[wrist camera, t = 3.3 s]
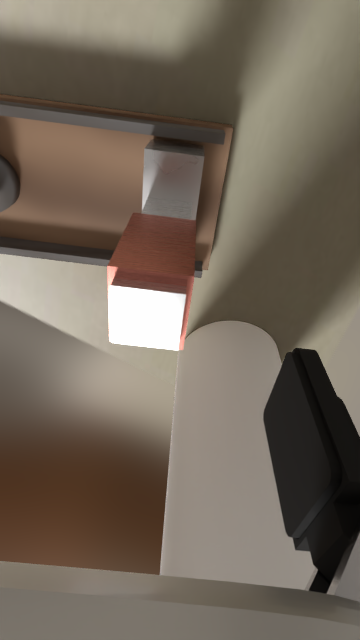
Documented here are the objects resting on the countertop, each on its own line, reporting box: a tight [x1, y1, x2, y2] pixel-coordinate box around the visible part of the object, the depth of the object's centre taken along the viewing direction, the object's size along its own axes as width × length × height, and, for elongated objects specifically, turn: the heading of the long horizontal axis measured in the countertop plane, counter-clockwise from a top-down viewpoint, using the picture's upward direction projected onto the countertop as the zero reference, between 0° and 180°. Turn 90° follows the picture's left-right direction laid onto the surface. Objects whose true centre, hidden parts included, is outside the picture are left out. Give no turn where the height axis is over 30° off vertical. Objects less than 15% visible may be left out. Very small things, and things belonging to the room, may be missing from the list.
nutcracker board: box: [0, 94, 233, 278], centre depth 20 cm, size 9×18×6 cm, turn 84°
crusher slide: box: [107, 139, 204, 350], centre depth 16 cm, size 7×3×12 cm, turn 174°
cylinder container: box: [160, 321, 315, 590], centre depth 19 cm, size 9×9×30 cm
